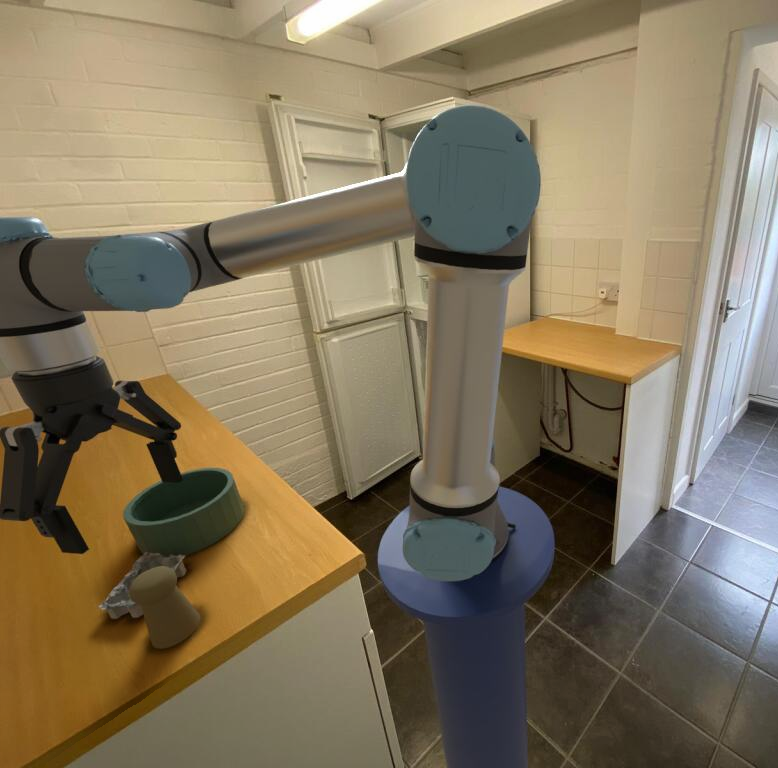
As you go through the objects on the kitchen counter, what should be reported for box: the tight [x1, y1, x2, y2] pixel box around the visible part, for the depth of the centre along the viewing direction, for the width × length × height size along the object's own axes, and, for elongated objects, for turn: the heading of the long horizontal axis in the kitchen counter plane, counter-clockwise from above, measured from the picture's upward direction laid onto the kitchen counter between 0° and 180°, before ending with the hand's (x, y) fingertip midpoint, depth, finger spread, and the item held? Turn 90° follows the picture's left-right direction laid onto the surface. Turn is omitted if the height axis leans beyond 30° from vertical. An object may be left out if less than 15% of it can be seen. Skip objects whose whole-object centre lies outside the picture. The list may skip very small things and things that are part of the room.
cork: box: [129, 566, 201, 650], centre depth 61 cm, size 6×6×11 cm
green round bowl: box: [122, 467, 245, 557], centre depth 82 cm, size 17×17×8 cm
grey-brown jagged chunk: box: [97, 551, 187, 620], centre depth 69 cm, size 11×8×4 cm
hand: (129, 512), depth 56 cm, fingers open, 13 cm apart
